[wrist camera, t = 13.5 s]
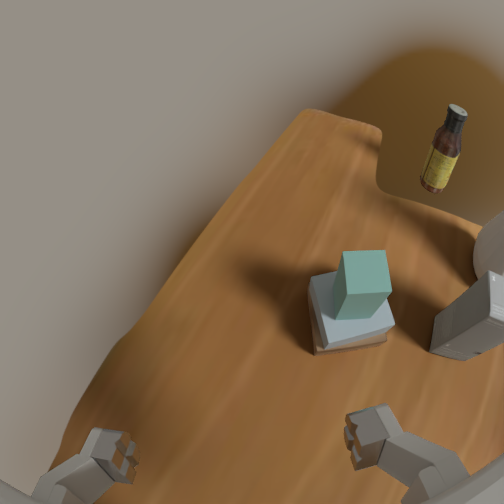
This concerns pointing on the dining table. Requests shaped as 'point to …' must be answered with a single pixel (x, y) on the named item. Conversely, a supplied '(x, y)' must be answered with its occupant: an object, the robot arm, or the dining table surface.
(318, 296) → the grey block
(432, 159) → the sauce bottle
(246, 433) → the dining table surface
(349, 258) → the teal block
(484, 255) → the soap bottle
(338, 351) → the walnut block
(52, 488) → the robot arm
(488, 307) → the skincare box
